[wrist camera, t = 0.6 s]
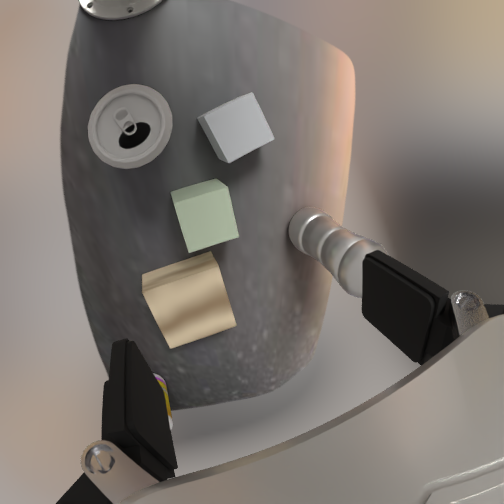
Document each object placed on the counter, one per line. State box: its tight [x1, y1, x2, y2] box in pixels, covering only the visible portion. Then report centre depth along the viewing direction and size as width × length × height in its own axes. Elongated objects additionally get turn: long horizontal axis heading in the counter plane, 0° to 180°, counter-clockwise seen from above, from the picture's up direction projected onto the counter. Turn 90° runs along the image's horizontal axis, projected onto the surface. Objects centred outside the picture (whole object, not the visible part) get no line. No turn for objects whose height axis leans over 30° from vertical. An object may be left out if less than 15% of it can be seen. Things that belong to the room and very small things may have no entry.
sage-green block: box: [170, 178, 239, 253], centre depth 34 cm, size 6×6×6 cm
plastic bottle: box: [289, 207, 388, 298], centre depth 34 cm, size 6×7×20 cm
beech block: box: [142, 251, 237, 349], centre depth 39 cm, size 10×10×5 cm
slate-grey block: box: [197, 92, 275, 163], centre depth 31 cm, size 6×6×5 cm
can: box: [88, 84, 173, 169], centre depth 25 cm, size 8×8×12 cm
